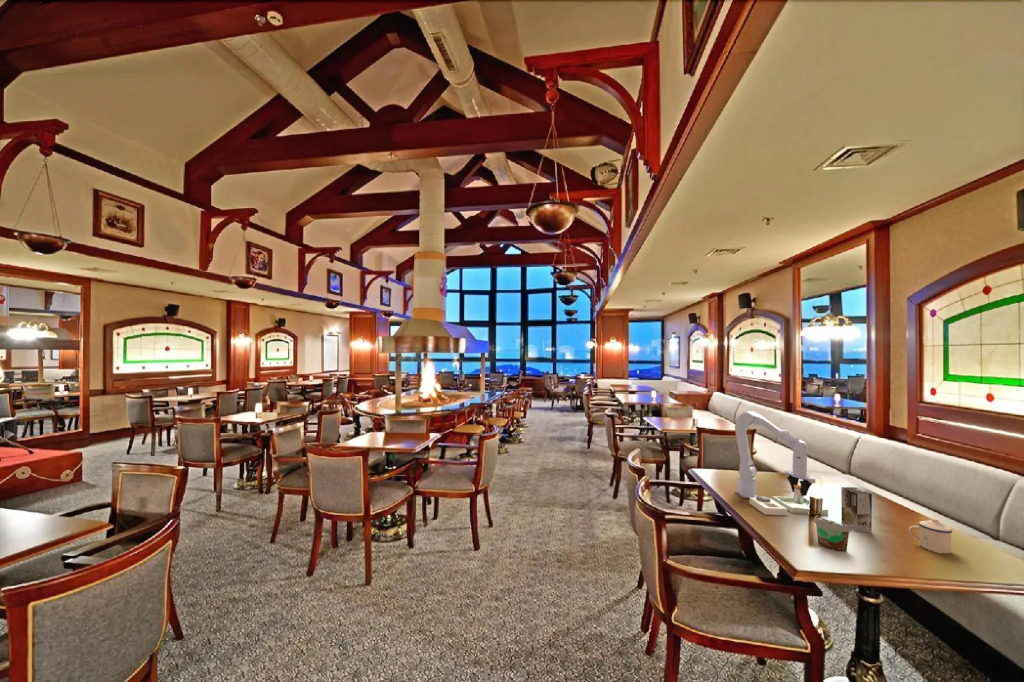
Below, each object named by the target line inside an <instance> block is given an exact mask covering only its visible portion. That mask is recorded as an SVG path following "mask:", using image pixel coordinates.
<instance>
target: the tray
mask: <svg viewBox="0 0 1024 682" xmlns="http://www.w3.org/2000/svg"><path fill="white" fill-rule="evenodd" d="M772 500H774V501H775V502H777V503H779V504H780V505H782V506H783V507H785V508H787V509H788V510H787V512H790V513H791V514H793V515H794V514H795V515H797V514H798V515H809V514H808V513H809V511H810V508H809V507H808V504H809V500H810V499H808V498H807V497H804V503H803V505H802V504H797V503H794V502H793V501H794V496H774V495H773V496H772ZM828 515H829V511H828V509H827V508H826V507H823V506H822V510H821V515H820V516H828Z"/></svg>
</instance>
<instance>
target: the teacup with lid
mask: <svg viewBox="0 0 1024 682" xmlns="http://www.w3.org/2000/svg"><path fill="white" fill-rule="evenodd" d="M918 525H919V526H918ZM918 525H911V526H909V527H908V532H909V535H910V536H911V537H912V538H914V539H916V540H919V546H920V545H921V546H922V547H925V548H927V549H930V550H933V551H937V552H942V553H950V552H951V553H952V532H953V530H952V528H951V527H949V526H948V525H946V524H944V523H942V522H940V520H939V519H938V518H933V517H932V518H931V519H929V520H922V521H921V520H920V521H919V522H918ZM912 529H918V530H919V537H918V536H916V535H914V534H913V533H912V532H913V531H912ZM921 546H920V547H921ZM922 547H921V548H922ZM951 553H950V554H951Z"/></svg>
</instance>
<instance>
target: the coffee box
mask: <svg viewBox="0 0 1024 682" xmlns="http://www.w3.org/2000/svg"><path fill="white" fill-rule="evenodd" d="M840 494H841V495H840V496H841V525H843V526H850V528H851V530H854V531H856V532H861V533H863V532H865V533H872V532H873V531H872V528H873V527H872V525H873V523H872V520H873V519H872V518H873V516H872V514H873V512H872V511H873V510H872V509H873V507H872V506H873V496H872V495H873V494H872V493H871V492H867V491H865V490H863V489H860V488H859V487H858V488H857V487H854V486H853V487H852V486H847V487H846V486H845V487H841V493H840Z"/></svg>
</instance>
